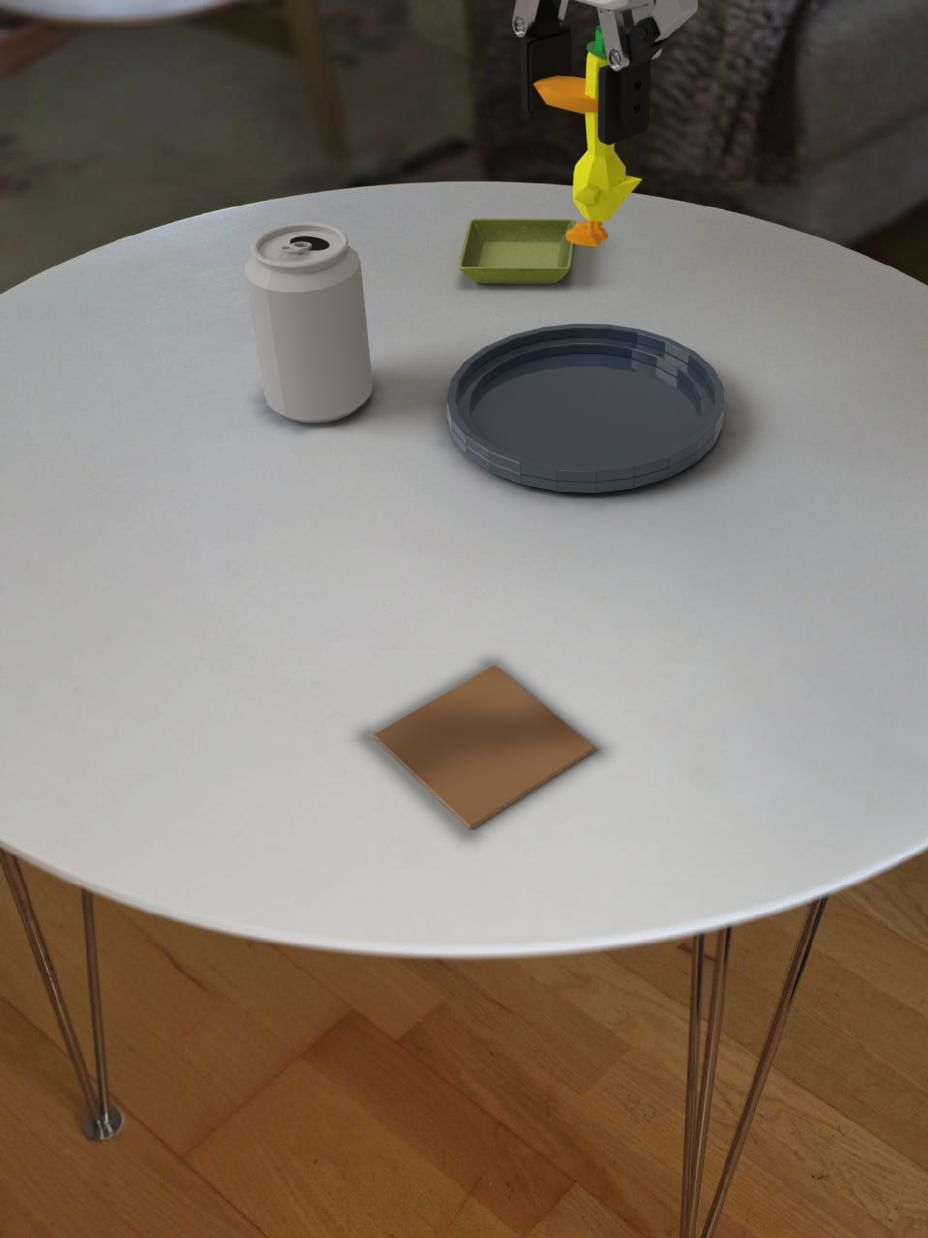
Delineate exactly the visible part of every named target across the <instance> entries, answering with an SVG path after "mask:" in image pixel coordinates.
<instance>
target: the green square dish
mask: <svg viewBox="0 0 928 1238" xmlns="http://www.w3.org/2000/svg"><path fill="white" fill-rule="evenodd" d="M576 224H577V220H575V219H572V218H571V219H570V218H494V217H493V218H487V217H485V218H483V217H482V218H473V219H470V220H469V221H468V223H467V228H466V232H465V237H464V241H463V245H462V248H461V252H460V256H459V260H458V264H457V268H458V269H459V270H460V272H461V273H462V274H463V275H464V276H465V277H466V278H468V279H469V280H471V281H472V282H474V283H477V284H489V285H490V284H491V285H492V284H495V285H496V284H497V285H498V284H500V285H501V284H502V285H503V284H504V285H514V284H515V285H554V284H557V283H558V282H559V281H560V280H562V279H563V278H564V277H565V276H566V275H567V274H568V272H569V271H570V270H571V267H572V261H573V260H572V259H573V253H574V252H573V251H574V250H573V249H574V243H572V242H570V241H568V240H566V233H567V231H568V230H569V229H574V227H575V225H576Z"/></svg>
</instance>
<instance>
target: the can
mask: <svg viewBox="0 0 928 1238" xmlns="http://www.w3.org/2000/svg"><path fill="white" fill-rule="evenodd" d="M250 250H251V254H252V255H251V256H250V257H249V259H248V260H247V261H246V264H245V266H244V268H243V269H244V275H245V281H246V288H247V294H248V301H249V307H250V313H251V318H252V326H253V331H254V338H255V343H256V344H255V345H256V349H257V356H258V363H259V368H260V374H261V382H262V387H263V394H264V398H265V403H266V404H267V405H268V406H269V408H271V410H273V411H274V412H276V413H277V414H280V415H281V416H283V417H285V418H287V419H289V420H291V421H294V422H298V423H302V424H303V423H304V424H324V423H330V422H335V421H338V420H340V419H341V420H342V419H344V418H346V417H348V416H349V415H351V414H353V413H354V412H356V411H357V410H358V409H359V408H360V407H361V406H363V405H364V404H365V403H366V401H367V400H368V399H369V398H370V397H371V395H372V392H373V388H374V385H373V384H374V382H373V374H372V372H373V371H372V364H371V352H370V342H369V333H368V324H367V323H368V322H367V313H366V304H365V303H366V302H365V294H364V293H365V292H364V284H363V283H364V282H363V275H362V274H363V273H362V272H363V271H362V263H361V259H360V256H359V254H358V252H357V251H356V250H355V249H353V247H351V245H349V238H348V235H347V233H345V232H344V231H343V230H342V229H340V227H337V226H334V225H332V224H329V223H324V222H317V221H298V222H291V223H285V224H281V225H278V226H275V227H271V228H270V229H268V230H266V231H264V232H262V233H261V234H259V235H258V236H257V237H256V238H255V239H254V240H253V242H252V243H251V246H250Z"/></svg>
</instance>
